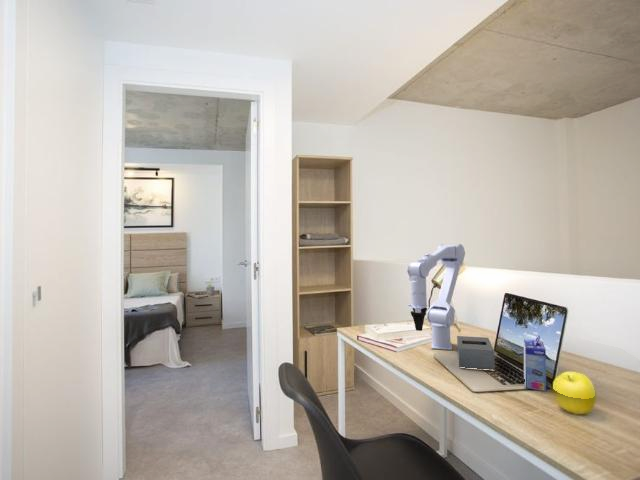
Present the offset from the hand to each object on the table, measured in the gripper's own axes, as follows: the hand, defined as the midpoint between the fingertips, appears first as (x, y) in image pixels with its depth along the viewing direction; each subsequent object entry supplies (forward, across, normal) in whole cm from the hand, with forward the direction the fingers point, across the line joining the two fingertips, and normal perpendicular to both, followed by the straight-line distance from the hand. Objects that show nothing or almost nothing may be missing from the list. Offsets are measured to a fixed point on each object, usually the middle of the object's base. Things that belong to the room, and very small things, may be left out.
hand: (419, 328), depth 135 cm
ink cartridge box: (+11, +20, +34) cm, 41 cm away
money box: (+10, +3, +19) cm, 22 cm away
